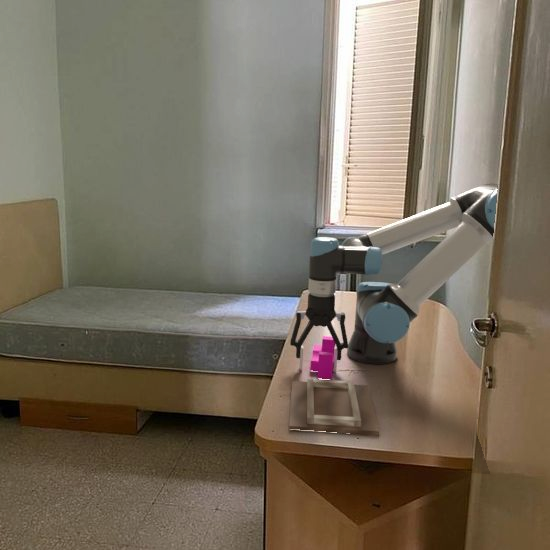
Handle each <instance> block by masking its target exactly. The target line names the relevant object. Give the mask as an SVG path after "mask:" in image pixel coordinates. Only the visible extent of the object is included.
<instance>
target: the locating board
mask: <svg viewBox="0 0 550 550" xmlns="http://www.w3.org/2000/svg"><path fill="white" fill-rule="evenodd" d="M306 380H307V381H303V380H302V381H298V380H297V381H296V380H292V381H291V392H290V393H291V394H290V395H291V396H290V407H289V420H288V421H289V423H288V430H289V429H300V430H314V431H326V432H337V433H350V434H349V435H351V434H363V435H362V436H368V435H379V436H380V428H379V424H378V420H377V416H376V413H375V408H374V404H373V400H372V397H371V394H370V393H371V392H370V390H369V385H368V384H355V382H354V381H352V380H336V379H335V380H334V379H331V380H319V379H318V378H316V379H315V378H307V379H306Z"/></svg>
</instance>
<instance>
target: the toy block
mask: <svg viewBox="0 0 550 550" xmlns="http://www.w3.org/2000/svg"><path fill="white" fill-rule="evenodd" d="M321 340H322V341H321V345H319V344H318V345H317V344H314V345H313V347H312V355H311V360H310V367H309V371H310V370H313V371H318V373H317V379H318V378H322V379H331V378H332V377H333V373H334V371H333V363H334V347H336V344H335V342H334V340H333V338H332V336H327V335H326V336H325V335H323V336H322V339H321ZM332 372H333V373H332ZM331 380H332V379H331Z"/></svg>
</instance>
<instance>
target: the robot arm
mask: <svg viewBox="0 0 550 550" xmlns="http://www.w3.org/2000/svg"><path fill="white" fill-rule="evenodd" d="M498 185H499V184H495V183H486V184H481V185H478V186H476V187H473V188H471V189H468V190H466V191H464V192H461V193H459V194H457V195H455V196H452V197H450V198H449V199H448V201H447V202H445V203H444V204H440V205H438V206H435V207H432V208H430V209H427V210H425V211H422V212H419V213H417V214H414V215H412V216H410V217H407V218H403V219H401V220H399V221H396V222H393V223H391V224H388V225H385V226H383V227H381V228H378V229H375V230H373V231H370V232H368V233H365V234H362V235H359V236H350V237H347V238H345V240H343V242H341V243H342V244H341V245H340V243H339V240H338V239H337V238H335V237H328V236H319V237H315V238H313V239H312V240H311V242H310V250H309V266H308V268H309V270H308V271H309V272H308V294H307V308H306V309H305V311H304V310H303V311H301V310H296V312H295V313H296V315H295V316H296V317H295V319H296V320H295V323H294V327H293V329H292V330H293V331H292V334H291V337H290V341H289V342H290V343H289V344H290V346H292V347H294V348H295V349H296V351H295V352H296V353H295V355H296V356H295V357H296V359H299V370H300V369H302V370H303V359H304V358H303V357H304V345H303V344H304V342H305V340H306V339H307V337H308V335H309V333H310V332H311V330H313V327H319V326H320V327H324V328H325V327H326V328H327V330H328V331H329V333H330V337H332V338H333V340H334V342H335V347H334V363H333V373H337V367H338V366H337V365H338V361H341V360H342V350H343V349H347V351H346V354H347V356H348V357H349V358H351V359H352V360H355V361H358V362H360V363H364V364H370V365H371V364H372V365H382V364H383V365H384V364H389V363H393V362H395V361H396V360H397V356H398V350H397V344H396V342H399V341H400V340H402V339H403V338H405V336H406V335H407V334H408V331H409V328H410V325H411V324H410V323H412V322H413V320H415V319H416V318H417V317H418V316H419V315H420V307H421V305H422V304H424V302H426V301H427V300H428V299H429V298H430V297H431V296H432V295H433V294H434V293H436V291H437V290H439V289H440V288H441V287H442V286H443V285H444V284H446V282H447V281H449V279H450V278H452V277H453V276H454V275H455V274H456V273H457V272H458V271H459V270H460V269H461V268H462V267H463V266H464V265H466V264H467V262H469V261H470V260H471V259H472V258H473V257H474V256H475V255H476V254H478V253H479V252H480V251H481V250H482V249H483V248H484V247H485V246H486V245H493V244H492V242H493V233H494V223H495V214H496V203H497V190H498ZM449 230H452V231H451V232H450V233H449V234H448V235H447V236H446V237H445V238H444V239H443V240H442V241H440V242H439V243H438V244H437V245H436V246H435V248H433V249H432V250H431V251H430V252H429V253H427V255H425V257H424V258H422V260H420V261H419V262H418V264H416V265H415V266H414V267H413V268H412V269H411V270H410V271H409V272H408V273H407V274H405V276H404V277H403V278H402V279H401V280H399V281H398V282H396V283H389V282H383V281H382V282H381V281H377V282H376V281H363V282H359V284H357V288H356V292H355V293H356V299H355V300H356V301H355V302H356V303H355V315H354V316H355V317H354V318H355V319H354V330H353V332H352V335H351V337H350V339H349V341H348V335H347V332H346V325H345V322H346V313H345V312H336V309H335V308H336V305H335V304H336V294H335V293H336V291H337V290H336V289H337V275H338V274H348V275H350V274H351V275H366V276H369V275H379V274H380V273H381V272H382V269H383V255H386V254H388V253H390V252H393V251H396V250H399V249H401V248H404V247H406V246H409V245H412V244H415V243H418V242H419V241H420V242H421V241H423V240H425V239H428V238H431V237H433V236H436V235H439V234H441V233H445V232H447V231H449ZM305 316H306V318H307V319H308V322H307V325H306V326H305V328H304V330H303V331H302V333H301V335H300V336H299V339H298V340H297V336H298V334H299V330H300V327H301V324H302V323H301V322H302V320H304V319H305ZM335 318H337V321H338V322H339V325H340V332H341V336H342V338H341V339H342V342H341V341H340V339H339V336H338V335H337V332H336V330H335V329H334V325H333V324H332V322H333V320H334V319H335Z"/></svg>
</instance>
